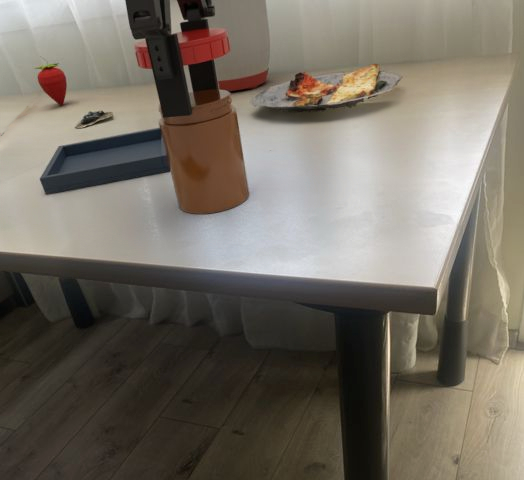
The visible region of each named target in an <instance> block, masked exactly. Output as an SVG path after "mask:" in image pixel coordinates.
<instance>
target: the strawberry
mask: <svg viewBox="0 0 524 480" xmlns="http://www.w3.org/2000/svg"><path fill="white" fill-rule="evenodd" d="M39 57H40V58H42V59H43V60H45V61H46V59H45V57H42V56H41V55H40V56H39ZM59 64H60V63H59V62H58V63H57V62H56V63H49V62H48V61H46V65H41V66H38V67H34V69H35V70H41V71H39V72H38V74H37V83H38V84H39V86H40V88H41V89H42V91H43V92H44V93H45V94H46V95H47V96H48V97H49V98H50V99H52V100H53V101H54V102H55V103H56V104H57V105H59V106H64V104H65V99H66V95H67V88H68V85H67V76H66V75H65V72H64V70H62V69H60V68H59V67H58V66H59Z"/></svg>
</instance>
